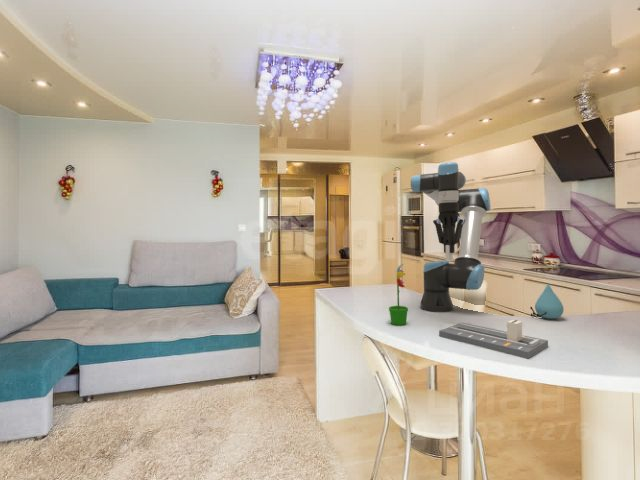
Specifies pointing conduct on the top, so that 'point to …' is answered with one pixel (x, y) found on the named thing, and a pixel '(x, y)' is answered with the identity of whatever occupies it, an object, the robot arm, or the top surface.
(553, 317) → the toy
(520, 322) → the fader tab
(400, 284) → the potted flower
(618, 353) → the top surface
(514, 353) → the console
